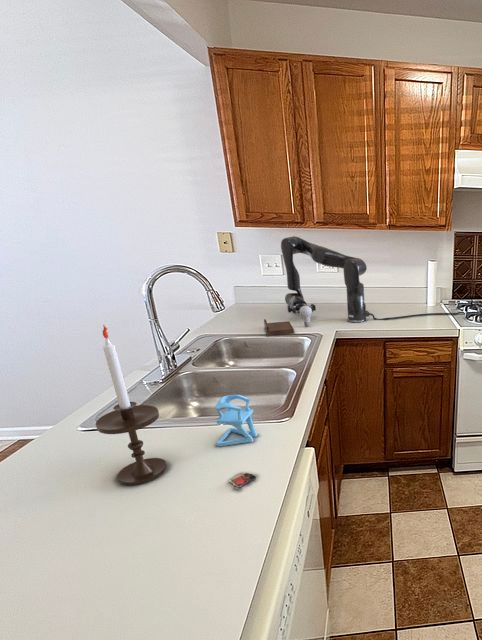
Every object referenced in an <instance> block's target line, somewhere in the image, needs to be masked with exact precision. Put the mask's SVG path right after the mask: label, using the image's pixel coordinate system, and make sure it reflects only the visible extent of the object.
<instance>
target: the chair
mask: <svg viewBox="0 0 482 640" xmlns="http://www.w3.org/2000/svg"><path fill="white" fill-rule="evenodd" d="M236 399H237V400H242V401H244V402H245V408H243V407H241V406H237V405H235V404H232V403H231V401H233V400H236ZM250 401H251V398H249V397H246V396H243V395H242V394H230V395H225V396H221V397H220V398H219V399H218V401H217V403H216V405H215V407H214V408H215V410H216V412H217V413H218V416H219V417H218V418H217V419H216V420H215V421H216V425H223V424H225V425H229V426H232V427H229V428H228V429H227V430H226V431H225V433H224V434H223V435H222V436H221V437H220V438H219V439H218V440H217V442H216V447H224V446H231V445H238V444H239V445H240V444H245V443H252V442H254V438H256V437H258V433H257V431H256V429H255V425H254V422H253V419H252V414H253V413H254V408H250ZM223 410H225V411H224V412H222V411H223ZM244 423H246V425H247V426H248V429H249V431H248V430H246V429H245V427H244V426H243V425H244ZM231 433H235V434H239V435H243V436H244V437H242V438H235V439H230V440H225V439H226V438H228V436H229V435H230V434H231Z"/></svg>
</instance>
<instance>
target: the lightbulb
mask: <svg viewBox="0 0 482 640" xmlns="http://www.w3.org/2000/svg"><path fill="white" fill-rule="evenodd" d="M309 306H310V305H309ZM309 306H302V307H301V308H300V313H299V314H300V316H301V318H302V321H303V325H304V326H305V327H306V328H307V327H309V326H310V321H311V316H312V314H313V312H312V309H311V308H310V307H309Z"/></svg>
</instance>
